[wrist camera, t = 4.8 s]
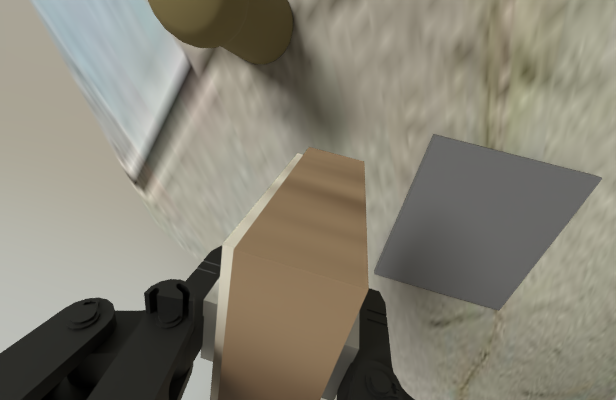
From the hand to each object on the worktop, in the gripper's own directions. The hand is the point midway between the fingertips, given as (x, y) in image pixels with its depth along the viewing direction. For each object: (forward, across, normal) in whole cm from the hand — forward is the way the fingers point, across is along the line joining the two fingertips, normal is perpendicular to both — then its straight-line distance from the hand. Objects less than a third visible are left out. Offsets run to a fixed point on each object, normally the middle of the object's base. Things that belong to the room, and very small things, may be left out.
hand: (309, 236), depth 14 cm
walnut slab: (0, 0, 0) cm, 0 cm away
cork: (+14, -9, +10) cm, 19 cm away
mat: (+14, +15, -3) cm, 20 cm away
